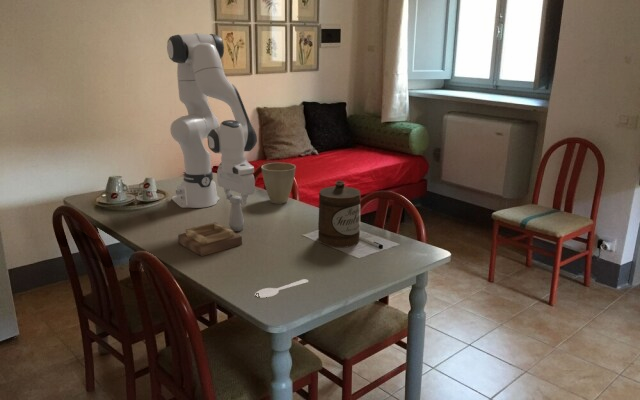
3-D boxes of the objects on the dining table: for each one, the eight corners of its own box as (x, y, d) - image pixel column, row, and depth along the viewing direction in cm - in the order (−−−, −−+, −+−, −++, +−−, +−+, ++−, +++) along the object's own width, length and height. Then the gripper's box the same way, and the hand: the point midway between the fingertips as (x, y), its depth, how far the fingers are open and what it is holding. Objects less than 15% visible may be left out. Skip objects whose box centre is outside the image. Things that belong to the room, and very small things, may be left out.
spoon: (313, 284, 156) (313, 282, 156) (260, 301, 146) (260, 299, 145) (302, 278, 160) (302, 276, 160) (250, 294, 150) (250, 292, 150)
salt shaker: (234, 233, 195) (232, 199, 191) (226, 229, 199) (224, 196, 195) (247, 229, 199) (246, 196, 195) (239, 225, 203) (237, 193, 199)
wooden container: (341, 251, 180) (342, 189, 173) (309, 240, 189) (309, 181, 183) (367, 239, 190) (369, 180, 184) (336, 229, 200) (337, 173, 193)
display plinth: (178, 242, 186) (177, 229, 184) (218, 232, 196) (217, 219, 195) (201, 256, 174) (200, 242, 173) (242, 244, 185) (241, 231, 183)
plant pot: (256, 204, 230) (255, 168, 225) (271, 195, 243) (270, 161, 238) (287, 208, 224) (286, 171, 220) (301, 198, 238) (301, 164, 233)
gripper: (211, 162, 197) (214, 197, 201) (242, 171, 182) (244, 209, 186) (226, 160, 201) (228, 194, 205) (257, 168, 186) (259, 205, 190)
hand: (236, 201), depth 195 cm, fingers open, 8 cm apart
